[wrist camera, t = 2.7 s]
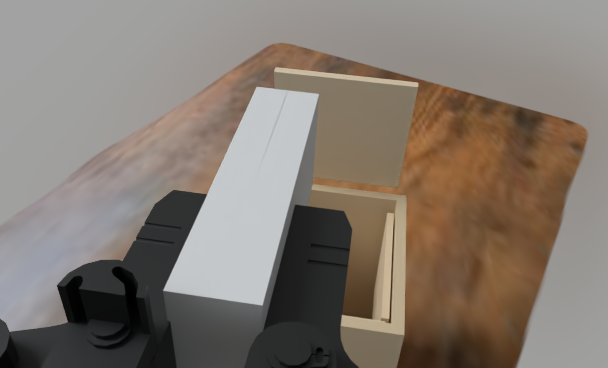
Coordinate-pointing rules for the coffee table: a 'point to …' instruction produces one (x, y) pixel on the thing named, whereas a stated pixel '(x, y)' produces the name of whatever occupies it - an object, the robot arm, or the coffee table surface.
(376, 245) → the carton
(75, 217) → the coffee table surface
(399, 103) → the front flap
